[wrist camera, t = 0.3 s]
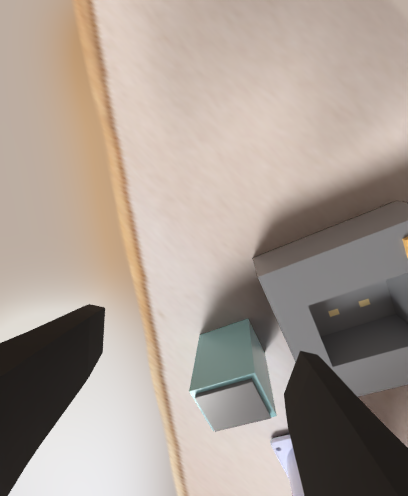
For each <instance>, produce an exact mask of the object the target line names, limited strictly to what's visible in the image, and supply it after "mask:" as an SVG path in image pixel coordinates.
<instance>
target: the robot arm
mask: <svg viewBox="0 0 408 496" xmlns="http://www.w3.org/2000/svg"><path fill="white" fill-rule="evenodd" d="M104 317H105V308H104V307H99V306H95V305H90V304H89V305H86V306H84V307H81V308H79V309H77V310H75V311H72V312H70V313H68V314H66V315H64V316H62V317H59V318H57V319H55V320H53V321H51V322H48V323H46V324H44V325H42V326H39V327H37V328H35V329H33V330H31V331H28V332H26V333H24V334H21V335H19V336H16V337H14V338H12V339H9V340H7V341H4V342H2V343H0V496H8V494H9V493H10V491H11V489H12V488H13V486H14V485H15V483H16V481H17V479H18V478H19V476H20V475H21V473H22V472H23V470H24V468H25V467H26V465H27V464H28V462H29V461H30V459H31V458H32V456H33V455H34V453H35V452H36V450H37V449H38V447H39V446H40V445H41V443H42V442H43V440H44V439H45V437H46V436H47V435H48V433H49V432H50V431H51V429H52V428H53V427H54V425H55V424H56V422H57V421H58V420H59V418H60V417H61V415H62V414H63V413H64V411H65V410H66V409H67V407H68V406H69V404H70V403H71V402H72V400H73V399H74V398H75V396H76V395H77V393H78V392H79V391H80V389H81V388H82V386H83V385H84V383H85V382H86V381H87V379H88V377H89V376H90V374H91V372H92V371H93V369H94V367H95V365H96V363H97V362H98V360H99V358H100V356H101V354H102V352H103V335H104ZM284 399H285V408H286V416H287V423H288V429H289V433H290V434H289V435H285V436H280V437H276V438H272V439H271V441H270V442H271V446H272V448H273V450H274V452H275V454H276V456H277V458H278V460H279V461H280V463H281V465H282V467H283V469H284V471H285V473H286V475H287V476H288V478H289V481H290V486H291V491H292V496H408V448H407V447H406V446H405V445H404V444H403V443H402V442H401V441H400V440H399V439H398V438H397V437H396V436H395V435H394V434H393V433H392V432H391V431H390V430H389V429H388V428H387V427H386V426H385V425H384V424H383V423H382V422H381V421H380V420H379V419H378V418H377V417H376V416H375V415H374V414H373V413H372V412H371V411H370V410H369V409H368V407H367V406H366V405H365V404H364V403H363V402H362V401H361V400H360V399H359V398H358V397H357V396H356V395H355V394H354V393H353V392H352V390H351V389H350V388H349V387H348V386H347V385H346V384H345V383H344V382H343V381H342V380H341V379H340V377H339V376H338V375H337V374H336V373H335V372H334V371H333V370H332V369H331V368H330V367H329V366H328V365H327V364H326V363H325V362H324V360H323V359H322V358H320V357H319V356H318V355H317V354H313V353H308V352H304V351H300V352H299V355H298V358H297V360H296V363H295V366H294V368H293V371H292V374H291V377H290V379H289V382H288V385H287V387H286V390H285V393H284Z"/></svg>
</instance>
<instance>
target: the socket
mask: <svg viewBox="0 0 408 496" xmlns="http://www.w3.org/2000/svg"><path fill="white" fill-rule="evenodd" d="M253 261H254V265H255V269H256V273H257V277H258V279H259V281H260V284H261V286H262V288H263V290H264V293H265V295H266V297H267V299H268V301H269V304H270V306H271V308H272V310H273V313H274V315H275V317H276V319H277V322H278V324H279V326H280V328H281V331H282V333H283V335H284V337H285V339H286V342H287V344H288V346H289V348H290V351H291V353H292V355H293V357H294V360H295V362H296V360H297V358H298V355H299V352H300V351H304V352H308V353H313V354H317V355H318V356H319V357H320V358H322V359H323V360H324V362H325V363H326V364H327V365H328V366H329V367H330V368H331V369H332V370H333V371H334V372H335V373H336V374H337V375H338V376H339V377H340V379H341V380H342V381H343V382H344V383H345V384H346V385H347V386H348V387H349V388H350V389H351V390H352V392H353V393H354V394H355V395H356V396H357V397H359V396H363V395H367V394H371V393H375V392H380V391H384V390H388V389H392V388H396V387H400V386H405V385H408V203H406V202H401V201H395V202H393V203H390V204H388V205H385V206H383V207H380V208H378V209H375V210H372V211H370V212H367V213H365V214H362V215H360V216H357V217H355V218H352V219H350V220H347V221H345V222H342V223H340V224H337V225H335V226H332V227H330V228H327V229H325V230H322V231H320V232H317V233H315V234H312V235H310V236H307V237H305V238H302V239H299V240H297V241H294V242H292V243H289V244H287V245H284V246H282V247H279V248H277V249H274V250H272V251H269V252H267V253H264V254H262V255H259V256H257V257H254V258H253Z"/></svg>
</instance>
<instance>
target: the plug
mask: <svg viewBox="0 0 408 496" xmlns="http://www.w3.org/2000/svg"><path fill="white" fill-rule="evenodd" d="M189 392H190V394H191V395H192V397H193V399H194V400H195V402H196V404H197V405H198V407H199V409H200V410H201V412H202V414H203V415H204V417H205V419H206V420H207V422H208V424H209V425H210V427H211V428H212V430H213V431H215V432H216V431H220V430H224V429H228V428H233V427H237V426H241V425H245V424H249V423H253V422H258V421H262V420H266V419H270V418H271V417H274V416H276V410H275V405H274V400H273V394H272V389H271V384H270V379H269V373H268V368H267V363H266V357H265V352H264V350H263V348H262V346H261V344H260V342H259V340H258V338H257V336H256V334H255V332H254V330H253V328H252V325H251V323H250V321H249V319H245V320H242V321H239V322H236V323H233V324H230V325H227V326H224V327H222V328H219V329H216V330H213V331H210V332H207V333H204V334H201V335H200V336H199V341H198V347H197V352H196V358H195V363H194V368H193V374H192V379H191V385H190V390H189Z"/></svg>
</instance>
